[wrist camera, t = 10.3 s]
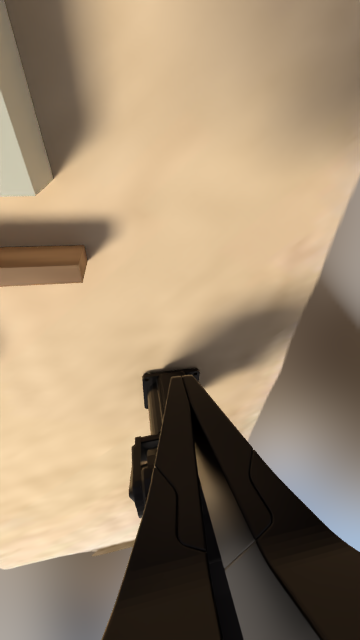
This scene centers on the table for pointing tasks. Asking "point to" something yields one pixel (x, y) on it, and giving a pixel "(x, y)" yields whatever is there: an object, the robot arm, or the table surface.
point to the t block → (18, 124)
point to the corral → (42, 265)
